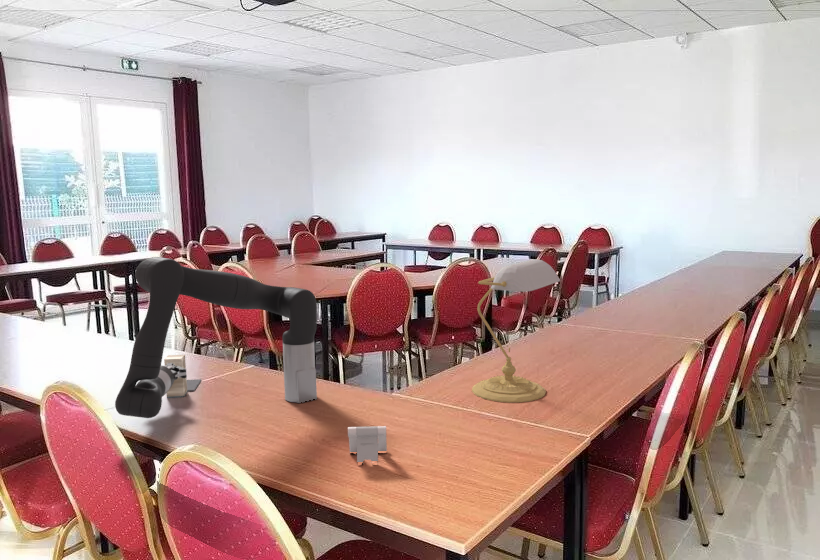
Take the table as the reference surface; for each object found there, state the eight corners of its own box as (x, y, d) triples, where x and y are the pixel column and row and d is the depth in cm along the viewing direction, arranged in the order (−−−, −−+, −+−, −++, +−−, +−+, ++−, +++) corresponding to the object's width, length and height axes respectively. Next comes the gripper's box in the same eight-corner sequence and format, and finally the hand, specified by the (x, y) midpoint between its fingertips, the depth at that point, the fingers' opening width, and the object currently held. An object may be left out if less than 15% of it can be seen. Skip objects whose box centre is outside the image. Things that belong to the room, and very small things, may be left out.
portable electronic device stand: (386, 451, 154) (386, 417, 153) (386, 465, 146) (386, 429, 145) (350, 452, 154) (349, 418, 153) (348, 466, 146) (347, 430, 145)
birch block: (183, 397, 197) (181, 358, 196) (166, 398, 197) (164, 359, 195) (187, 392, 202) (185, 354, 201) (170, 393, 202) (168, 355, 200)
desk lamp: (524, 412, 180) (526, 268, 175) (452, 398, 193) (451, 264, 187) (563, 383, 206) (566, 258, 200) (497, 373, 218) (497, 255, 213)
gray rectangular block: (194, 391, 203) (194, 390, 203) (164, 392, 202) (164, 391, 202) (201, 380, 215) (201, 379, 215) (173, 381, 214) (173, 380, 214)
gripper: (180, 368, 176) (193, 352, 193) (129, 370, 175) (147, 354, 192) (182, 395, 177) (194, 377, 194) (131, 397, 176) (148, 379, 193)
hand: (171, 366), depth 193 cm, fingers closed
